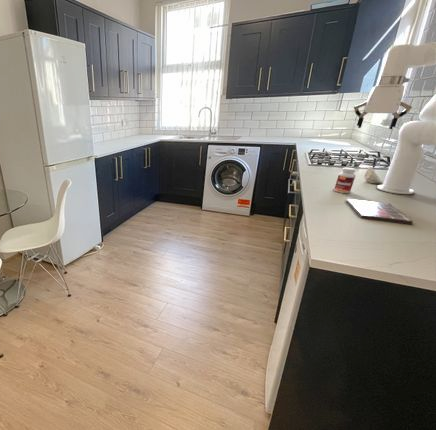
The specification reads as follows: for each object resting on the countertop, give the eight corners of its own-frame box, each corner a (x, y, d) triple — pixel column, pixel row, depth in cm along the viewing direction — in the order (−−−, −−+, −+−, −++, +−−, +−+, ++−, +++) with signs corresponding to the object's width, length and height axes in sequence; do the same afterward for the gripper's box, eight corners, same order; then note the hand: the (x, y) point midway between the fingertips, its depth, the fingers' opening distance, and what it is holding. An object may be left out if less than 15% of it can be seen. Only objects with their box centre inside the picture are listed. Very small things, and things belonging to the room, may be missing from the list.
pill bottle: (333, 191, 132) (340, 168, 128) (334, 188, 136) (341, 166, 132) (349, 194, 128) (357, 170, 124) (350, 191, 132) (357, 168, 128)
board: (346, 201, 119) (347, 198, 118) (388, 206, 113) (389, 203, 113) (360, 217, 102) (362, 214, 101) (411, 224, 96) (413, 221, 96)
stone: (388, 186, 143) (389, 172, 137) (372, 192, 145) (373, 178, 140) (374, 175, 151) (374, 161, 145) (359, 180, 153) (359, 167, 148)
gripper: (419, 81, 106) (401, 128, 112) (360, 83, 115) (347, 126, 122) (423, 80, 100) (405, 130, 106) (361, 82, 110) (348, 127, 116)
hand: (374, 128), depth 114 cm, fingers open, 9 cm apart
